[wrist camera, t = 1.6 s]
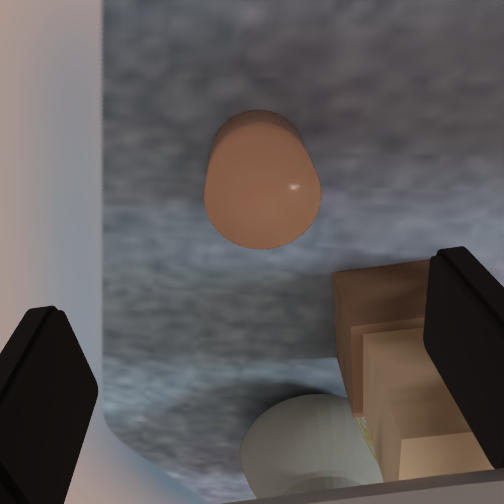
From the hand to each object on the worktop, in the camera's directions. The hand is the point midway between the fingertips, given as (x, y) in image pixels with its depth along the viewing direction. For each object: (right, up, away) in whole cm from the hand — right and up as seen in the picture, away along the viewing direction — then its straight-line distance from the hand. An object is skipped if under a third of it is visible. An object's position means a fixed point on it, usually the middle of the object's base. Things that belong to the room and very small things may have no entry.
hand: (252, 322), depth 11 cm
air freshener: (+4, -11, +22) cm, 25 cm away
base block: (+9, -2, +16) cm, 19 cm away
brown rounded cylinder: (0, +7, +11) cm, 13 cm away
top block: (+9, -4, +12) cm, 16 cm away
